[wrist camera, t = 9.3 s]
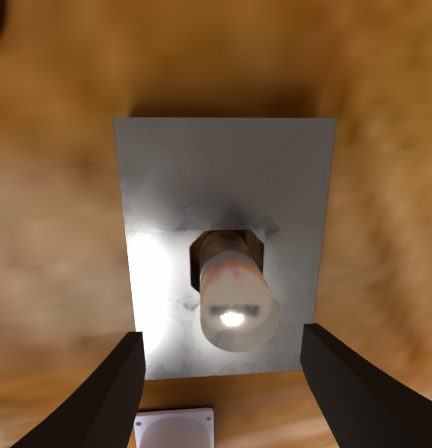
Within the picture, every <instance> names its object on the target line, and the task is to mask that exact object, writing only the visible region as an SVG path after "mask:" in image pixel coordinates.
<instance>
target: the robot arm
mask: <svg viewBox="0 0 432 448" xmlns="http://www.w3.org/2000/svg"><path fill="white" fill-rule="evenodd" d="M300 363H301V366H302V369H303V371H304V374H305V377H306V380H307V382H308V385H309V387H310V389H311V391H312V393H313V395H314V397H315V399H316V401H317V403H318V405H319V407H320V409H321V411H322V413H323V415H324V417H325V419H326V421H327V423H328V425H329V427H330V429H331V431H332V433H333V435H334V437H335V439H336V441H337V443H338V445H339V447H340V448H432V401H431V400H429V399H427V398H425V397H424V396H422V395H420V394H418V393H417V392H415V391H413V390H412V389H410V388H408V387H407V386H405V385H403V384H402V383H400V382H399V381H397V380H395V379H394V378H392V377H391V376H389V375H388V374H386V373H385V372H383V371H382V370H380V369H379V368H377V367H376V366H374V365H373V364H371V363H370V362H368V361H367V360H366V359H364V358H363V357H361V356H360V355H359V354H357V353H356V352H355V351H353V350H352V349H351V348H349V347H348V346H347V345H345V344H344V343H343V342H341V341H340V340H339V339H337V338H336V337H335V336H333V335H332V334H331V333H330V332H328V331H327V330H326V329H324V328H323V327H321V326H320V325H319V324H317V323H311V324H304V326H303V336H302V345H301V354H300ZM145 374H146V362H145V351H144V340H143V331H139V332H128V333H127V334H126V335H125V336H124V337H123V339H122V340H121V341H120V342H119V343H118V345H117V346H116V347H115V348H114V349H113V350H112V352H111V353H110V354H109V355H108V356H107V357H106V359H105V360H104V361H103V362H102V363H101V364H100V365H99V366H98V368H97V369H96V370H95V371H94V372H93V373H92V374H91V375H90V376H89V377H88V378H87V379H86V380H85V381H84V382H83V383H82V384H81V385H80V387H79V388H78V389H77V390H76V391H75V392H74V393H73V394H72V395H71V396H70V397H69V398H67V399H66V400H65V401H64V402H63V403H62V404H61V405H60V406H59V407H58V408H57V409H56V410H55V411H53V412H52V413H51V414H50V415H49V416H48V417H47V418H46V419H45V420H43V421H42V422H41V423H40V424H39V425H37V426H36V427H35V428H34V429H32V430H31V431H30V432H29V433H27V434H26V435H25V436H24V437H23V438H21V439H20V440H19V441H18V442H16V443H15V444H14V445H13V446H11V447H10V448H127V445H128V442H129V438H130V435H131V431H132V428H133V424H134V430H135V438H136V445H137V448H214V411H213V409H212V408H197V409H183V410H169V411H155V412H141V413H137V410H138V407H139V403H140V400H141V396H142V391H143V386H144V380H145Z"/></svg>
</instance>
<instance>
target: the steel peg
mask: <svg viewBox="0 0 432 448" xmlns="http://www.w3.org/2000/svg"><path fill="white" fill-rule="evenodd" d="M279 321H280V309H279V306H278V303H277V301H276V299H275V297H274V296H273V294H272V292H271V290H270V288H269V286H268V284H267V282H266V281H265V279H264V277H263V275H262V273H261V271H260V269H259V268H258V266H257V264H256V262H255V260H254V258H253V256H252V255H251V253H250V251H249V249H248V247H247V245H246V243H245V242H244V240H243V238H242V237H241V236H240V235H239V234H238V233H236V232H234V231H232V230H216V231H214V232H212V233H210V234H209V235H207V236H206V237H205V239H204V240H203V242H202V244H201V246H200V324H201V329H202V332H203V334H204V336H205V337H206V339H207V340H208V341H209V342H210V343H211V344H212V345H214V346H215V347H217V348H219V349H221V350H224V351H228V352H236V353H239V352H247V351H251V350H254V349H256V348H258V347H260V346H262V345H263V344H265V343H266V342H267V341H268V340H269V339H270V338H271V337H272V336H273V335H274V333H275V332H276V330H277V328H278V325H279Z"/></svg>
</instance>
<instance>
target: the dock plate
mask: <svg viewBox="0 0 432 448" xmlns="http://www.w3.org/2000/svg"><path fill="white" fill-rule="evenodd" d="M336 119H337V118H173V117H113V124H114V133H115V142H116V151H117V161H118V170H119V179H120V188H121V197H122V206H123V215H124V224H125V234H126V243H127V252H128V261H129V270H130V279H131V288H132V297H133V307H134V316H135V325H136V332H139V331H143V340H144V351H145V362H146V374H145V380H155V379H171V378H187V377H203V376H218V375H234V374H250V373H266V372H281V371H297V370H303V369H302V366H301V363H300V354H301V345H302V336H303V326H304V324H311V323H313V319H314V311H315V302H316V293H317V284H318V276H319V267H320V258H321V249H322V241H323V232H324V223H325V215H326V206H327V197H328V188H329V180H330V171H331V162H332V154H333V145H334V136H335V127H336ZM246 229H249V230H251V231H252V232H253V233H254V234H255V251H254V260H255V262H256V264H257V266H258V268H259V269H260V271H261V273H262V275H263V277H264V279H265V281H266V282H267V284H268V286H269V288H270V290H271V292H272V294H273V296H274V297H275V299H276V301H277V303H278V306H279V309H280V321H279V325H278V328H277V330H276V332H275V333H274V335H273V336H272V337H271V338H270V339H269V340H268V341H267V342H266V343H265V344H263V345H262V346H260V347H258V348H256V349H254V350H251V351H247V352H239V353H236V352H228V351H224V350H221V349H219V348H217V347H215V346H214V345H212V344H211V343H210V342H209V341H208V340H207V339H206V337H205V336H204V334H203V332H202V329H201V324H200V275H199V274H198V273H197V272H196V271H194V270H193V269H192V259H191V244H192V243H193V242H194V241H195V240H196V239H197V238H198V237H199V236H200V235H201V234H202V233H203V232H204V231H207V230H246Z"/></svg>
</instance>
